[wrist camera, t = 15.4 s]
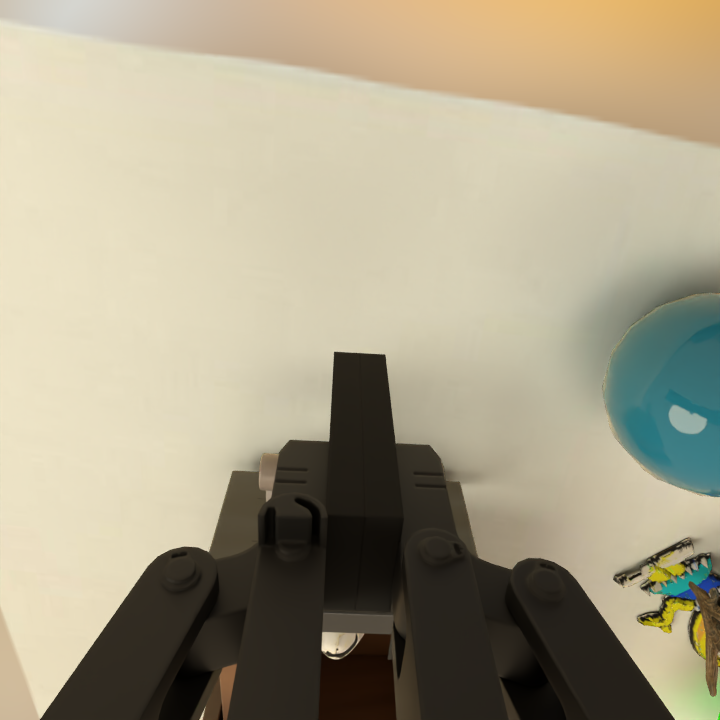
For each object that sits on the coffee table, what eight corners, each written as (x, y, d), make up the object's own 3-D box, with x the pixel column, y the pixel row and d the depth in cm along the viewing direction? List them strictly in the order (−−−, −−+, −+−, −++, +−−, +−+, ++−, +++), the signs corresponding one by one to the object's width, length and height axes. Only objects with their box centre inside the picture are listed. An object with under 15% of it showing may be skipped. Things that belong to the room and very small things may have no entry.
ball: (548, 401, 27) (615, 525, 20) (621, 244, 23) (736, 329, 16) (698, 430, 28) (812, 559, 21) (793, 284, 24) (971, 380, 17)
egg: (374, 586, 30) (377, 676, 26) (314, 583, 30) (307, 674, 26) (378, 544, 29) (382, 633, 24) (316, 542, 29) (309, 630, 24)
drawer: (227, 386, 25) (181, 510, 19) (476, 399, 26) (520, 526, 19) (241, 641, 34) (213, 787, 28) (426, 647, 35) (443, 793, 28)
